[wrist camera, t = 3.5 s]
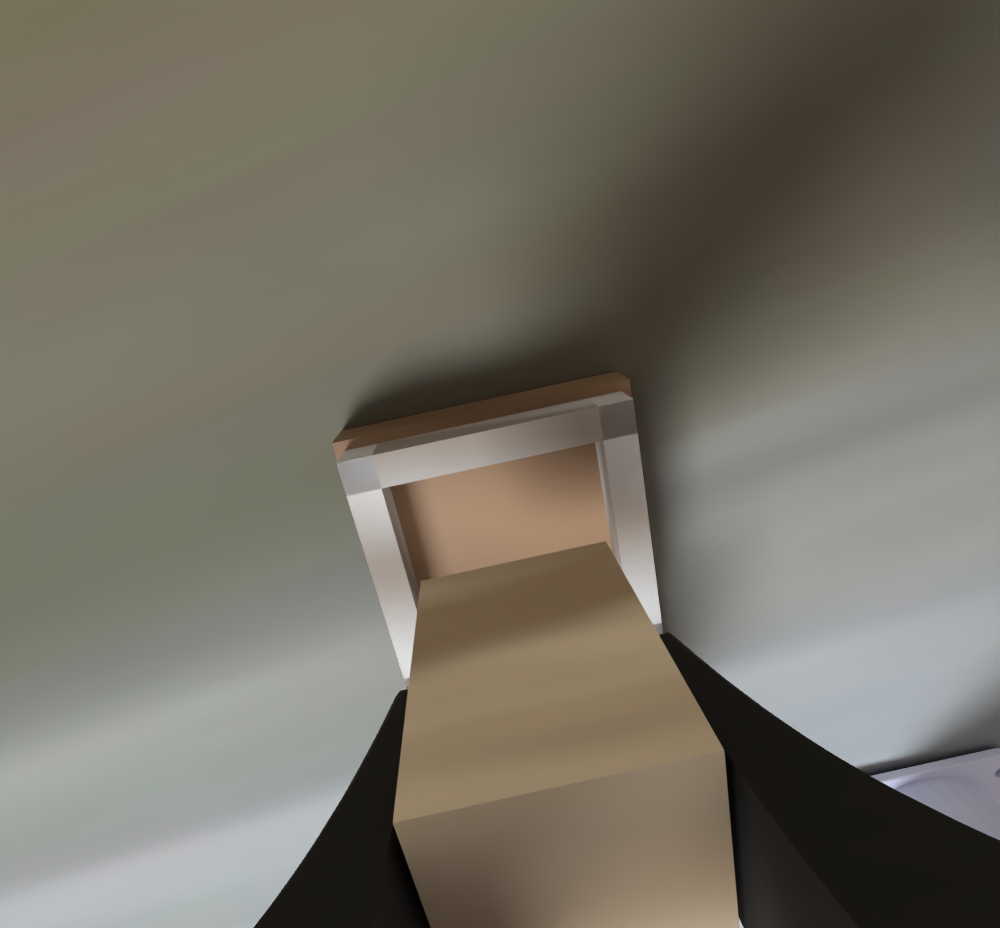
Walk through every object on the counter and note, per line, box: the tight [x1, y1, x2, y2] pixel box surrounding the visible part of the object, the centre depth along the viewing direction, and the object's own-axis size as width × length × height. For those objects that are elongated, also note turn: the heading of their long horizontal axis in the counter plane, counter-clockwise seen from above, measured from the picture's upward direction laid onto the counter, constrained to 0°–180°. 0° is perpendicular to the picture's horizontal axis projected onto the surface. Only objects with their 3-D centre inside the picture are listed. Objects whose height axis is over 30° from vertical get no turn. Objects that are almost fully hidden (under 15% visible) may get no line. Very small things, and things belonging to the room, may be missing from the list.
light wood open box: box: [332, 372, 663, 689], centre depth 17 cm, size 16×9×7 cm, turn 11°
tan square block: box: [393, 541, 739, 928], centre depth 10 cm, size 5×4×6 cm
